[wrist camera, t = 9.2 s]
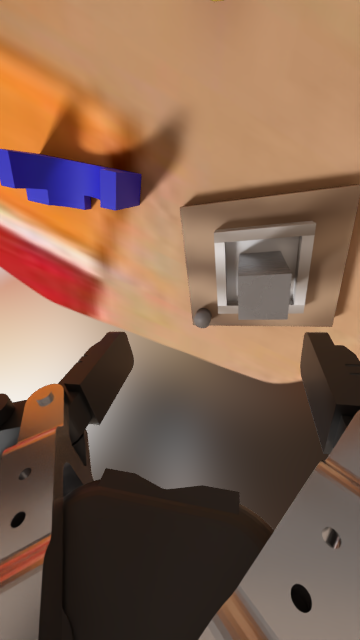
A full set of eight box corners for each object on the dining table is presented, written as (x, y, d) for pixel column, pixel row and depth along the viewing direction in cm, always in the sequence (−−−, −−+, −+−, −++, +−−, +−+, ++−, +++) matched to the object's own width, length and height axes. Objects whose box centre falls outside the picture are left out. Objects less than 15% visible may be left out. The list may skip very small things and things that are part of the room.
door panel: (183, 206, 25) (176, 209, 23) (355, 184, 21) (370, 185, 19) (195, 319, 32) (191, 331, 29) (327, 319, 28) (336, 333, 25)
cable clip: (47, 198, 29) (5, 202, 24) (41, 154, 26) (-7, 147, 21) (139, 218, 27) (115, 227, 22) (142, 173, 25) (116, 172, 20)
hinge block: (239, 253, 25) (237, 276, 19) (280, 250, 24) (291, 273, 18) (239, 289, 27) (238, 319, 21) (277, 287, 26) (287, 319, 20)
